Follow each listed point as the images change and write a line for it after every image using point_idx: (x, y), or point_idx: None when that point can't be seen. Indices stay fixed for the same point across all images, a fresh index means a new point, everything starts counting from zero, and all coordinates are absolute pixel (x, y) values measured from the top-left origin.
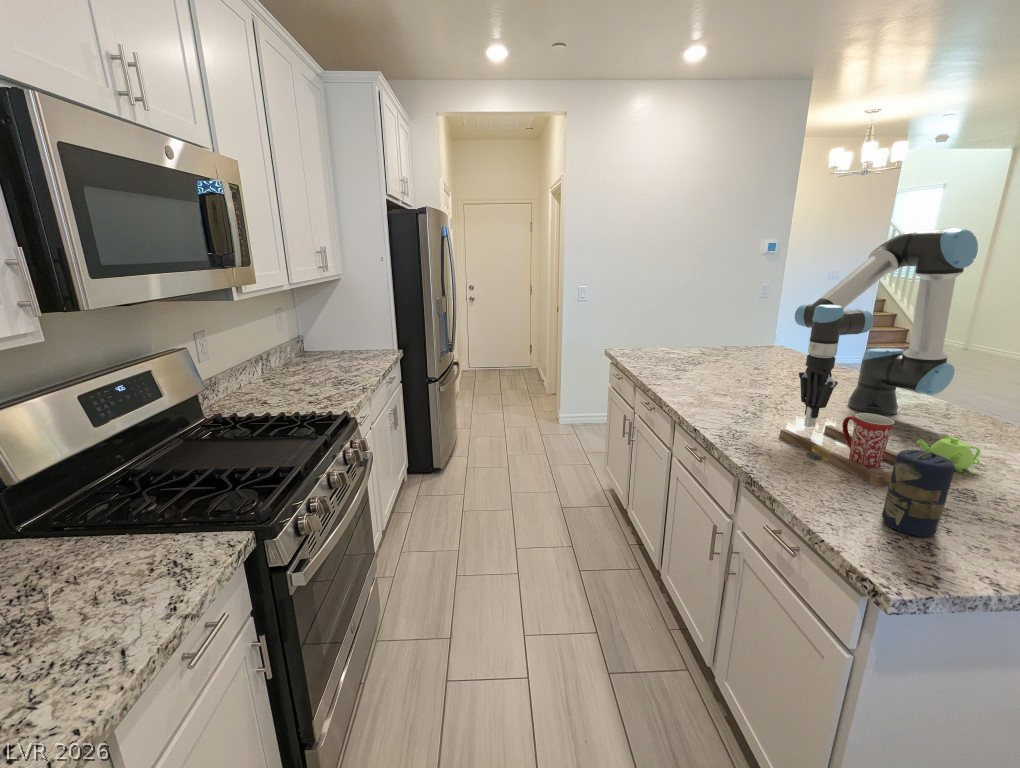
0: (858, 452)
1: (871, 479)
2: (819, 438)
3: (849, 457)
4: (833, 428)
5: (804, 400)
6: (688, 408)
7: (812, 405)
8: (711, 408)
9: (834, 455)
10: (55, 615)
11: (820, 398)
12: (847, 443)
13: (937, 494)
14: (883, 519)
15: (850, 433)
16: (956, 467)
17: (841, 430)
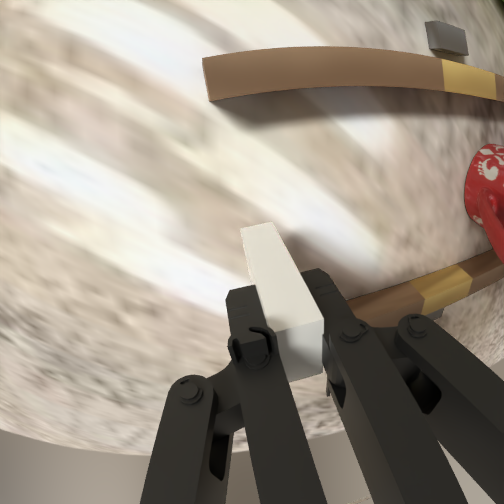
0: None
1: None
2: (296, 185)
3: (476, 222)
4: (274, 83)
5: (233, 430)
6: (46, 431)
7: (340, 390)
8: (16, 397)
9: (477, 289)
10: (368, 498)
11: (447, 435)
12: (483, 225)
13: None
14: None
15: (365, 48)
16: None
17: (314, 58)
